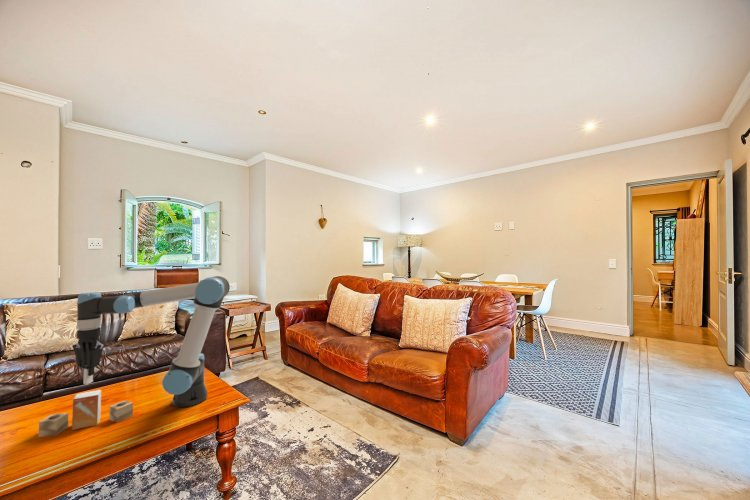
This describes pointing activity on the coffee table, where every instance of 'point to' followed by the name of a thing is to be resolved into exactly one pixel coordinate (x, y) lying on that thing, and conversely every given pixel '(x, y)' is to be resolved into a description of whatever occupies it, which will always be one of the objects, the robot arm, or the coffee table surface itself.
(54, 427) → the marked block
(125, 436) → the coffee table surface
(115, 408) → the marked block
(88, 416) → the small box
